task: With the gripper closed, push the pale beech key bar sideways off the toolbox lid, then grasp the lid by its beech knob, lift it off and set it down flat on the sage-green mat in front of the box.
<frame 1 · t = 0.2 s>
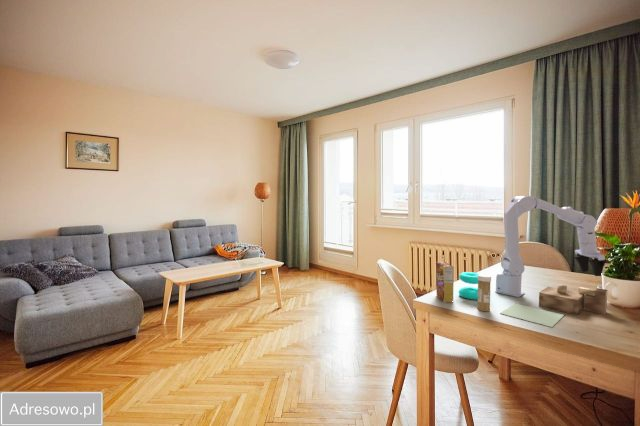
hand: (591, 273, 135), 11 cm above the table, tool pointing down, fingers open, 7 cm apart
mat: (532, 314, 116), on the table
donuts: (471, 297, 137), on the table
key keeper: (594, 310, 120), on the table
sprinkles bottle: (483, 310, 122), on the table
candy box: (444, 299, 134), on the table
lid: (561, 295, 124), point 4 cm above the table, touching toolbox
toolbox: (561, 307, 124), on the table
key: (592, 292, 120), point 7 cm above the table, slide at 0.0 cm
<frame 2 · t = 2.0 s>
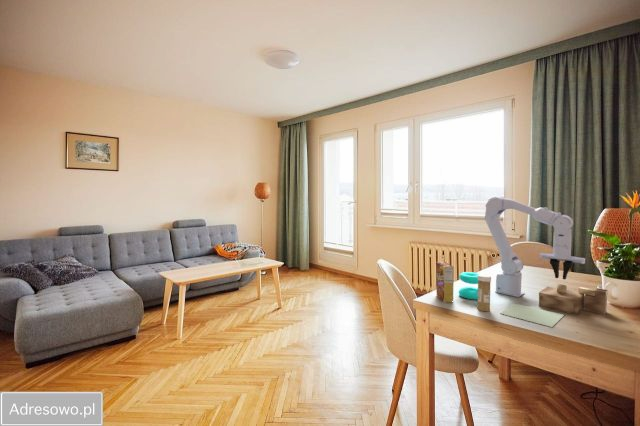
hand: (560, 278, 128), 10 cm above the table, tool pointing down, fingers closed
nothing on the table moved.
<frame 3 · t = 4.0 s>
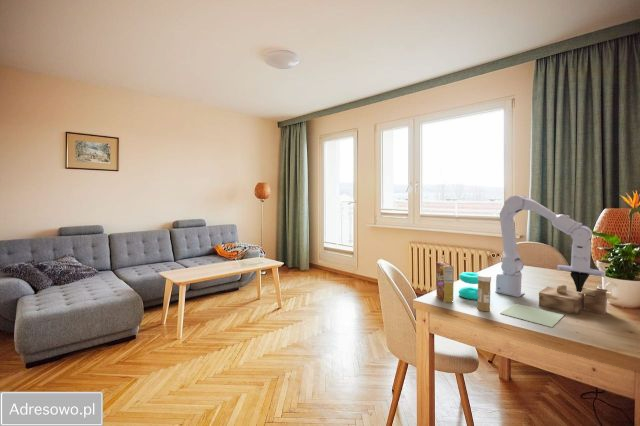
hand: (579, 291, 123), 6 cm above the table, tool pointing down, fingers closed
key: (596, 293, 119), point 7 cm above the table, slide at 1.1 cm, touching gripper
everything else where it was.
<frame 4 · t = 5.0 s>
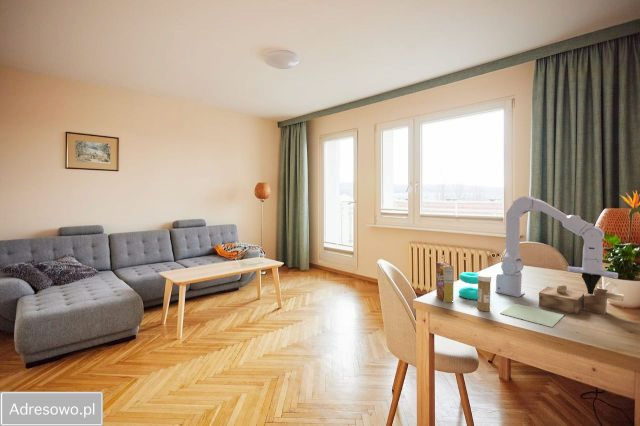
hand: (590, 293, 121), 6 cm above the table, tool pointing down, fingers closed
key: (608, 295, 117), point 7 cm above the table, slide at 4.6 cm, touching gripper
everything else where it was.
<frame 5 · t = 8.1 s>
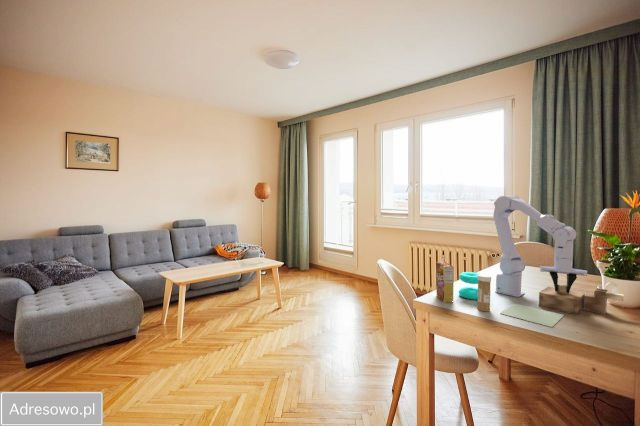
hand: (561, 291, 124), 6 cm above the table, tool pointing down, fingers closed on lid, 3 cm apart
lid: (561, 295, 124), point 5 cm above the table, touching gripper
key: (608, 295, 117), point 7 cm above the table, slide at 4.6 cm
everything else where it was.
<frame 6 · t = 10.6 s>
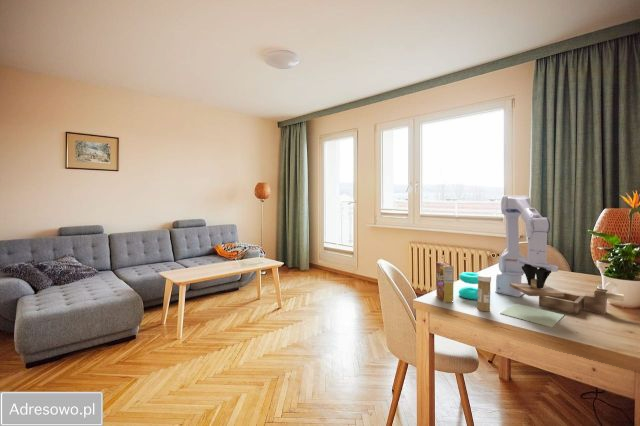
hand: (535, 286, 116), 10 cm above the table, tool pointing down, fingers closed on lid, 3 cm apart
lid: (535, 291, 116), point 9 cm above the table, touching gripper
everything else where it was.
when the fingers open (3 cm above the table, at t = 13.4 s): lid drops 1 cm, resting on mat.
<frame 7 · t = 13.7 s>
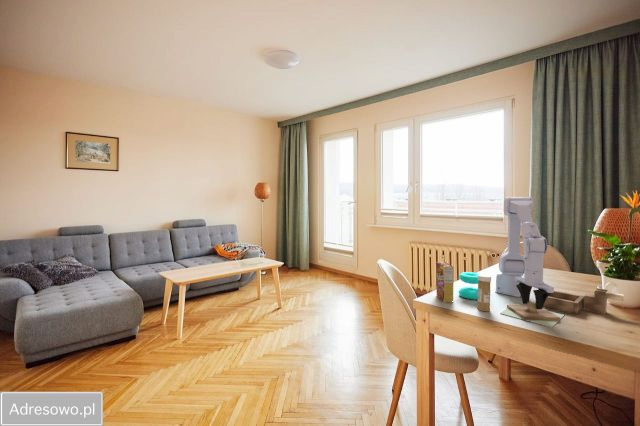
hand: (532, 306, 116), 3 cm above the table, tool pointing down, fingers open, 5 cm apart
lid: (532, 313, 116), resting on mat
everything else where it was.
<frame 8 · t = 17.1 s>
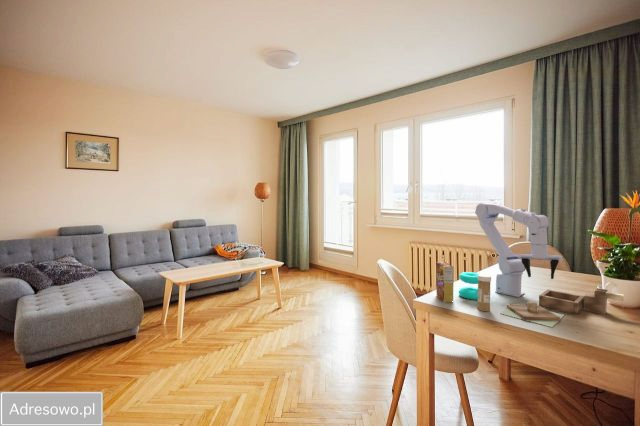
hand: (540, 277, 128), 11 cm above the table, tool pointing down, fingers open, 7 cm apart
nothing on the table moved.
at the end: key slide at 4.6 cm; lid inside the target area (0.0 cm from its centre), resting on mat; lid tilted 0° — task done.
